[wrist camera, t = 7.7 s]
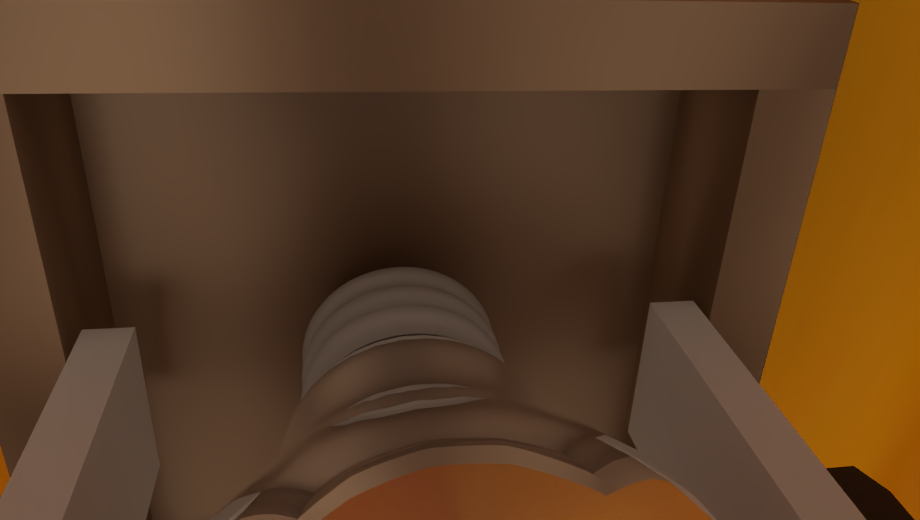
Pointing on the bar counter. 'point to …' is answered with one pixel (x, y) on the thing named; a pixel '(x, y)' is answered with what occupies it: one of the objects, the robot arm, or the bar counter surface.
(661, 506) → the light bulb
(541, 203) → the walnut box
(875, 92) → the bar counter surface
